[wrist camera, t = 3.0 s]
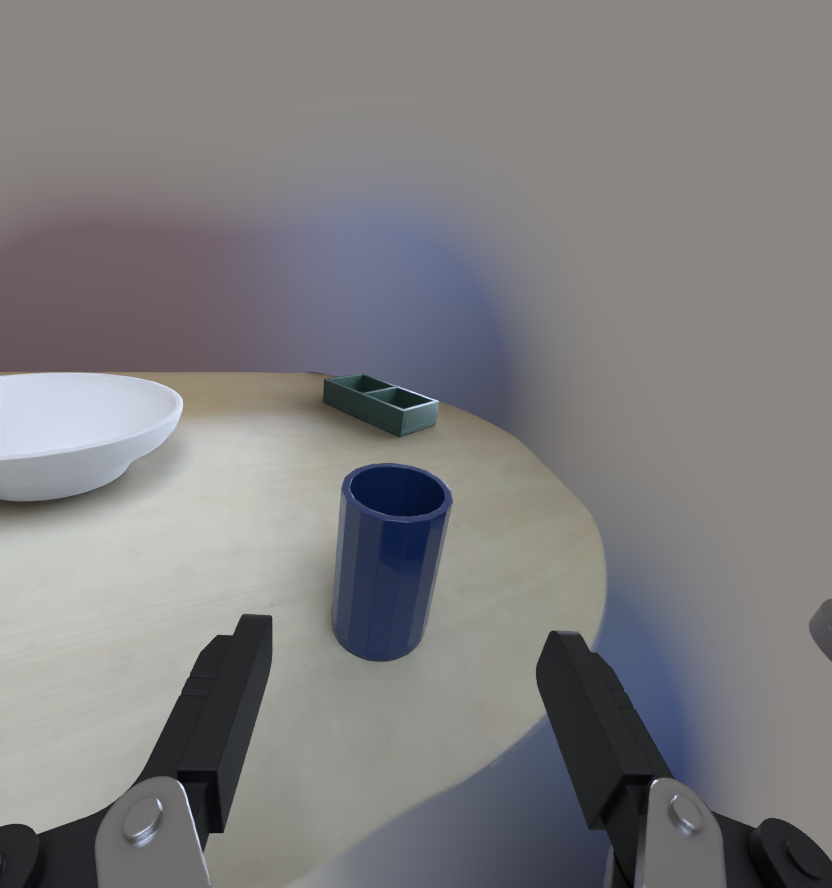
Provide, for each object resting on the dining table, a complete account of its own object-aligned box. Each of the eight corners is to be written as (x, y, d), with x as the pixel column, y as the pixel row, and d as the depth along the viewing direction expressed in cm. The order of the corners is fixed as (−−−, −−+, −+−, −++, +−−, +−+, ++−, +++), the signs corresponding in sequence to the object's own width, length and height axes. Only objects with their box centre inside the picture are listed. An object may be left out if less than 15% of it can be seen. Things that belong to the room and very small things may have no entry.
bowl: (110, 561, 27) (91, 474, 24) (-223, 540, 25) (-287, 442, 22) (221, 443, 45) (217, 386, 42) (32, 425, 42) (15, 363, 40)
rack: (400, 437, 54) (403, 411, 52) (322, 402, 62) (323, 379, 61) (435, 424, 60) (439, 401, 59) (360, 394, 69) (362, 373, 67)
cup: (423, 588, 29) (447, 469, 25) (427, 665, 23) (458, 527, 19) (340, 580, 28) (350, 457, 24) (323, 657, 23) (333, 513, 19)
